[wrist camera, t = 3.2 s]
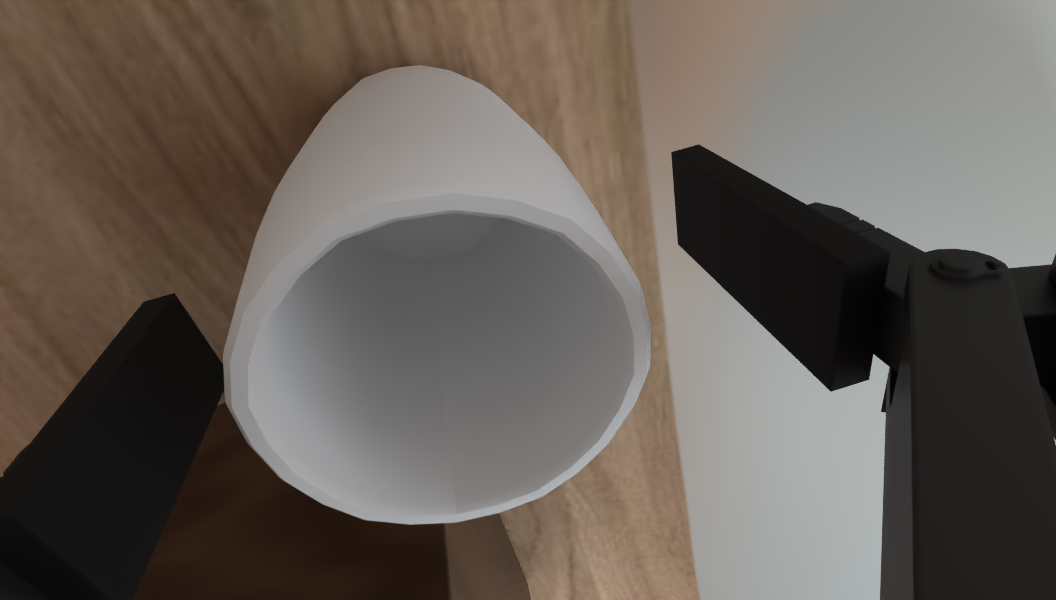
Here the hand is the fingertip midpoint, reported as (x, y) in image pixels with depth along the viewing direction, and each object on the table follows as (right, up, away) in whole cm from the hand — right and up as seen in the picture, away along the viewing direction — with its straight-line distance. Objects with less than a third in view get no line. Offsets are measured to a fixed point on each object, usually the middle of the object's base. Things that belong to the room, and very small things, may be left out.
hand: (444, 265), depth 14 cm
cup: (-2, +5, +8) cm, 9 cm away
